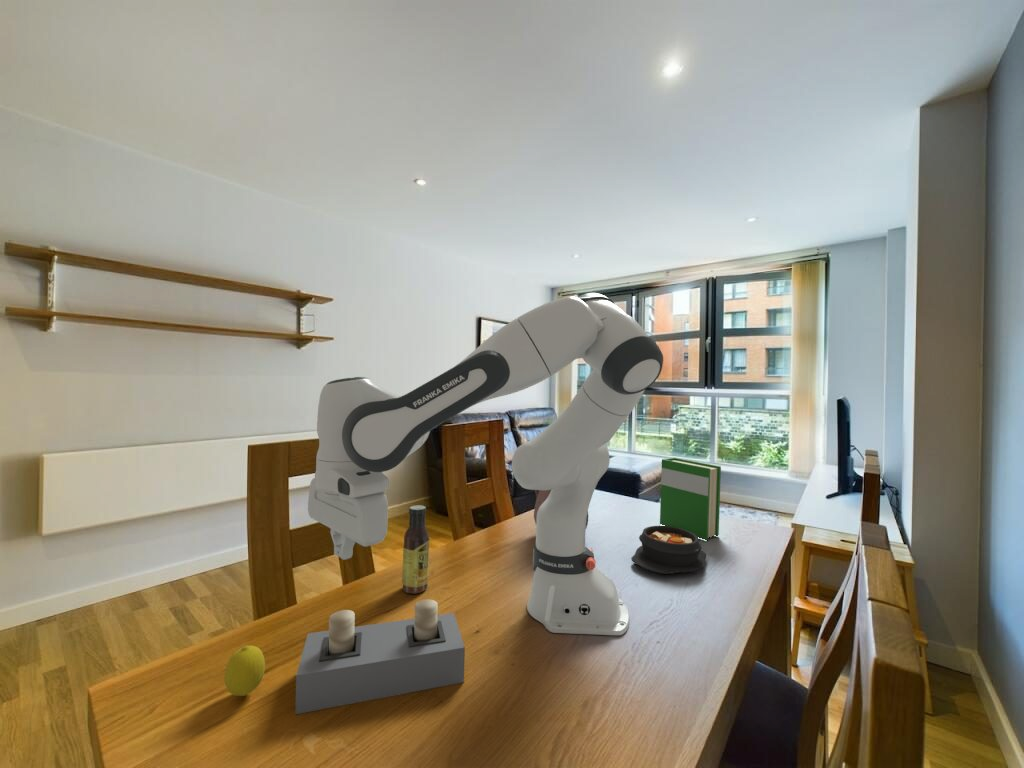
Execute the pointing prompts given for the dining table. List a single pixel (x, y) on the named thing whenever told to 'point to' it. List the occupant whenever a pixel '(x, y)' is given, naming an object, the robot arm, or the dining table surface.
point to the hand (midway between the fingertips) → (343, 556)
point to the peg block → (378, 664)
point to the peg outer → (341, 632)
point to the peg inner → (425, 620)
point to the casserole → (669, 550)
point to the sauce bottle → (416, 552)
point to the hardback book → (690, 496)
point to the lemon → (244, 670)
